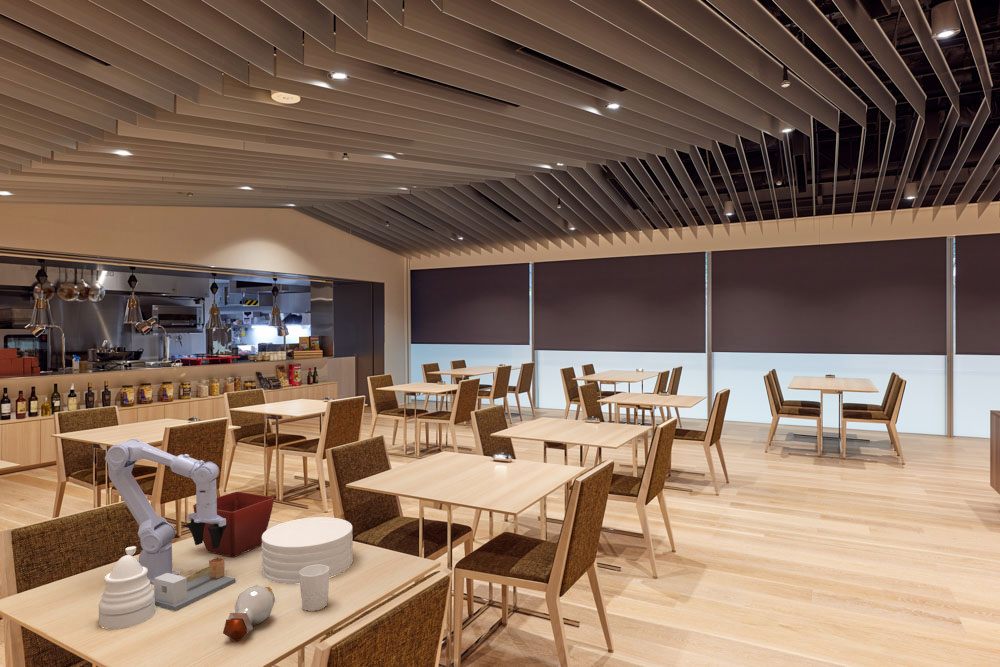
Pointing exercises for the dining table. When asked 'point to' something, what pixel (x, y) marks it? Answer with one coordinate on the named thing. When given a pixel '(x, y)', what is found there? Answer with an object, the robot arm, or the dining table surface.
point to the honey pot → (126, 594)
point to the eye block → (185, 589)
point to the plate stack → (306, 547)
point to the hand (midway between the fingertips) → (207, 545)
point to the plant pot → (240, 522)
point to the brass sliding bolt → (210, 570)
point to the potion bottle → (249, 611)
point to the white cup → (314, 587)
